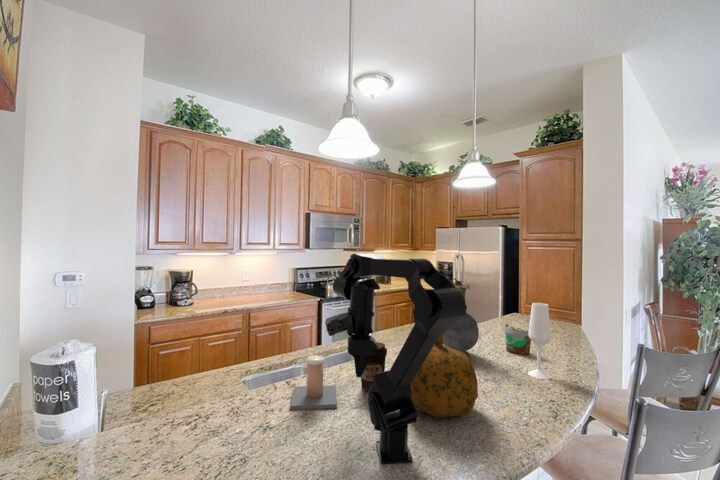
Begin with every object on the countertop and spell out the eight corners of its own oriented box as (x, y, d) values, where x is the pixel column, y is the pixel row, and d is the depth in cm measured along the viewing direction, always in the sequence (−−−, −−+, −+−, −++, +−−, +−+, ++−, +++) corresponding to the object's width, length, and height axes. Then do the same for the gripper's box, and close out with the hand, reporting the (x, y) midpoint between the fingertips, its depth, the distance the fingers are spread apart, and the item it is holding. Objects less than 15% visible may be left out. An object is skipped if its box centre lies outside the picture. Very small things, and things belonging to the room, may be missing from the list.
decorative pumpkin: (398, 423, 74) (403, 337, 76) (399, 390, 95) (403, 323, 97) (487, 436, 71) (490, 346, 73) (468, 399, 92) (471, 329, 94)
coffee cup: (384, 396, 89) (385, 350, 89) (355, 393, 91) (356, 348, 91) (387, 383, 97) (388, 341, 98) (361, 380, 99) (362, 339, 99)
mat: (336, 408, 82) (336, 404, 82) (290, 409, 81) (290, 405, 81) (335, 388, 93) (335, 385, 93) (294, 389, 92) (294, 386, 92)
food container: (496, 348, 133) (496, 324, 133) (506, 346, 136) (506, 323, 136) (522, 358, 122) (522, 332, 122) (532, 356, 125) (533, 330, 125)
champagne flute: (530, 377, 104) (531, 305, 105) (525, 369, 111) (526, 301, 111) (553, 380, 102) (554, 306, 103) (547, 372, 109) (548, 303, 109)
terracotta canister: (320, 400, 84) (321, 362, 84) (303, 398, 85) (304, 361, 85) (325, 391, 89) (326, 356, 89) (309, 390, 90) (310, 355, 90)
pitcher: (461, 362, 116) (462, 281, 116) (428, 346, 133) (430, 276, 134) (482, 358, 121) (484, 280, 121) (448, 343, 138) (449, 275, 138)
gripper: (329, 294, 85) (326, 351, 86) (326, 314, 67) (322, 386, 67) (370, 296, 86) (366, 353, 87) (378, 316, 67) (374, 387, 68)
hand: (357, 367), depth 77 cm, fingers open, 9 cm apart
